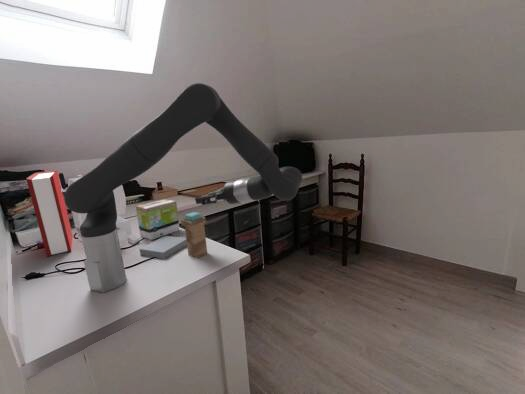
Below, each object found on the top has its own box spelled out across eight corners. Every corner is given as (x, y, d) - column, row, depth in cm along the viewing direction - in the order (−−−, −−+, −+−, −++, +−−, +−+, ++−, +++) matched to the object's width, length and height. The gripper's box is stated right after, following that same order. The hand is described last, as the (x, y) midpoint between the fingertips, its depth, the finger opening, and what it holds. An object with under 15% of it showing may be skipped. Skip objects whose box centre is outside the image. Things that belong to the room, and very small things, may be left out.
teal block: (201, 221, 99) (200, 213, 99) (192, 224, 96) (191, 216, 96) (194, 219, 102) (193, 211, 101) (185, 222, 99) (184, 214, 98)
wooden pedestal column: (210, 252, 103) (205, 217, 99) (196, 259, 98) (191, 222, 95) (199, 249, 107) (195, 215, 103) (185, 255, 102) (180, 220, 99)
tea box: (152, 240, 119) (146, 208, 115) (140, 236, 125) (134, 205, 121) (180, 230, 130) (176, 200, 127) (168, 226, 136) (164, 198, 133)
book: (71, 251, 112) (52, 175, 105) (47, 257, 108) (26, 178, 101) (72, 234, 135) (57, 170, 127) (52, 238, 131) (35, 172, 123)
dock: (164, 258, 100) (163, 252, 99) (140, 254, 105) (139, 248, 104) (188, 244, 112) (187, 238, 112) (166, 241, 117) (165, 235, 117)
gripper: (250, 175, 91) (214, 182, 100) (225, 184, 80) (186, 192, 88) (255, 196, 93) (220, 201, 101) (231, 209, 81) (193, 214, 89)
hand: (204, 197), depth 95 cm, fingers open, 8 cm apart
